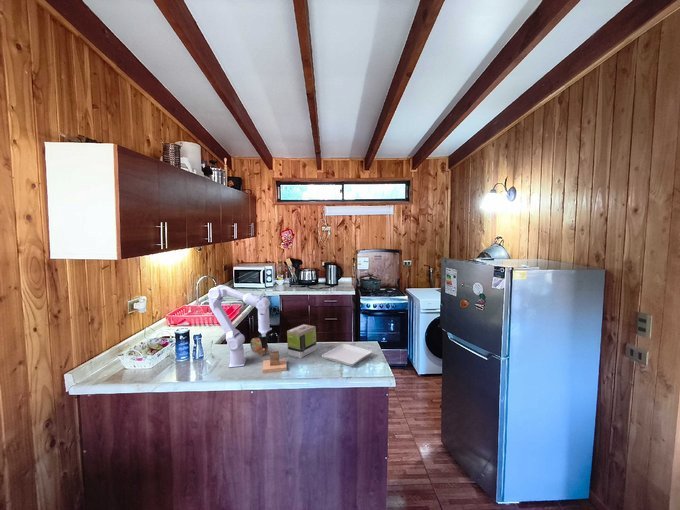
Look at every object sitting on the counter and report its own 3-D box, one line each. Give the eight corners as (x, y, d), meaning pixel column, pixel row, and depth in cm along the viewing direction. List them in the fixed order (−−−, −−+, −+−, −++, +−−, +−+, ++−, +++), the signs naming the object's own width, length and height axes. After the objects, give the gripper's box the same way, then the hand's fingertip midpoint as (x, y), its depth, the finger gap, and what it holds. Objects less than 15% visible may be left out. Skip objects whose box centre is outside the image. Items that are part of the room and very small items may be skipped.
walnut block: (270, 362, 173) (270, 351, 172) (279, 361, 173) (279, 350, 173) (270, 365, 168) (269, 354, 168) (279, 365, 169) (278, 354, 169)
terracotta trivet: (263, 364, 176) (263, 360, 176) (285, 362, 178) (285, 358, 178) (262, 374, 164) (262, 369, 164) (286, 372, 166) (286, 367, 166)
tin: (250, 350, 196) (249, 336, 195) (254, 349, 198) (254, 335, 197) (264, 356, 185) (264, 342, 185) (269, 355, 188) (268, 341, 187)
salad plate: (352, 370, 167) (352, 363, 167) (320, 360, 180) (320, 354, 179) (373, 356, 184) (373, 350, 184) (343, 348, 197) (343, 343, 196)
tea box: (304, 347, 200) (303, 323, 199) (317, 350, 194) (316, 326, 193) (287, 355, 187) (286, 330, 186) (300, 358, 182) (299, 333, 181)
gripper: (271, 324, 167) (272, 349, 168) (271, 316, 181) (272, 340, 182) (257, 325, 165) (258, 351, 166) (258, 317, 180) (259, 341, 181)
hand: (264, 345), depth 174 cm, fingers open, 7 cm apart
